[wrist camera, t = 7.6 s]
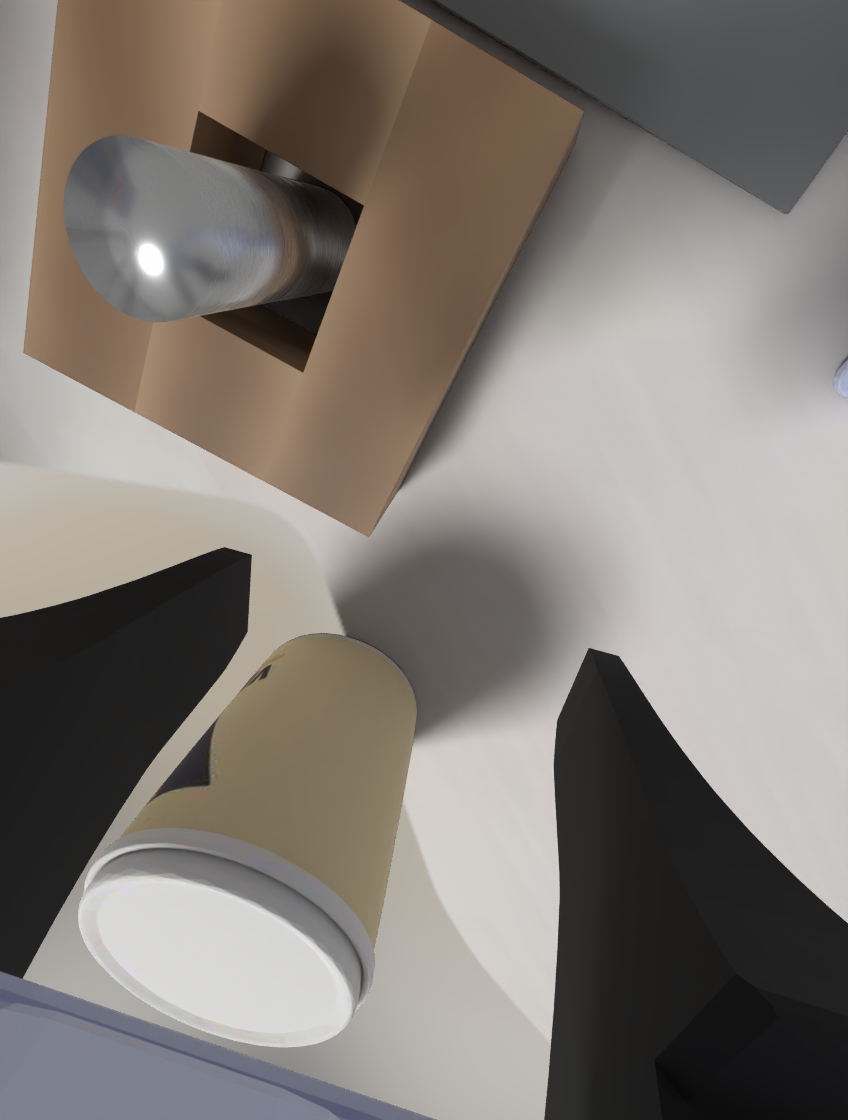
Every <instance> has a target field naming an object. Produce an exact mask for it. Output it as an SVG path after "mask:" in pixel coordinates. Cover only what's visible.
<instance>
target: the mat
mask: <svg viewBox="0 0 848 1120" xmlns="http://www.w3.org/2000/svg"><path fill="white" fill-rule="evenodd" d="M431 1H432V2H434V3H436V4H437V5H439V6H441V7H442V8H444V9H445V10H447V11H449V12H450V13H452V14H454V15H455V16H457V17H459V18H460V19H462V20H464V21H465V22H467V23H469V24H470V25H472V26H474V27H475V28H477V29H479V30H480V31H482V32H484V33H485V34H487V35H489V36H490V37H492V38H494V39H495V40H497V41H499V42H500V43H502V44H504V45H505V46H507V47H509V48H510V49H512V50H514V51H515V52H517V53H519V54H520V55H522V56H524V57H525V58H527V59H529V60H530V61H532V62H533V63H535V64H537V65H538V66H540V67H542V68H543V69H545V70H547V71H548V72H550V73H552V74H553V75H555V76H557V77H558V78H560V79H562V80H563V81H565V82H567V83H568V84H570V85H572V86H573V87H575V88H577V89H578V90H580V91H582V92H583V93H585V94H587V95H588V96H590V97H592V98H593V99H595V100H597V101H598V102H600V103H602V104H603V105H605V106H607V107H608V108H610V109H612V110H613V111H615V112H616V113H618V114H620V115H621V116H623V117H625V118H626V119H628V120H630V121H631V122H633V123H635V124H636V125H638V126H640V127H641V128H643V129H645V130H646V131H648V132H650V133H651V134H653V135H655V136H656V137H658V138H660V139H661V140H663V141H665V142H666V143H668V144H670V145H671V146H673V147H675V148H676V149H678V150H680V151H681V152H683V153H685V154H686V155H688V156H690V157H691V158H693V159H695V160H696V161H698V162H700V163H701V164H703V165H704V166H706V167H708V168H709V169H711V170H713V171H714V172H716V173H718V174H719V175H721V176H723V177H724V178H726V179H728V180H729V181H731V182H733V183H734V184H736V185H738V186H739V187H741V188H743V189H744V190H746V191H748V192H749V193H751V194H753V195H754V196H756V197H758V198H759V199H761V200H763V201H764V202H766V203H768V204H769V205H771V206H773V207H774V208H776V209H778V210H779V211H781V212H783V213H784V214H787V213H789V212H790V211H791V209H792V208H793V207H794V205H795V204H796V202H797V201H798V200H799V198H800V197H801V195H802V194H803V193H804V191H805V190H806V188H807V187H808V186H809V184H810V183H811V181H812V180H813V179H814V177H815V176H816V174H817V173H818V172H819V170H820V169H821V167H822V166H823V165H824V163H825V162H826V160H827V159H828V158H829V156H830V155H831V153H832V152H833V151H834V149H835V148H836V146H837V145H838V143H839V142H840V141H841V139H842V138H843V136H844V135H845V134H846V132H847V131H848V0H431Z"/></svg>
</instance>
